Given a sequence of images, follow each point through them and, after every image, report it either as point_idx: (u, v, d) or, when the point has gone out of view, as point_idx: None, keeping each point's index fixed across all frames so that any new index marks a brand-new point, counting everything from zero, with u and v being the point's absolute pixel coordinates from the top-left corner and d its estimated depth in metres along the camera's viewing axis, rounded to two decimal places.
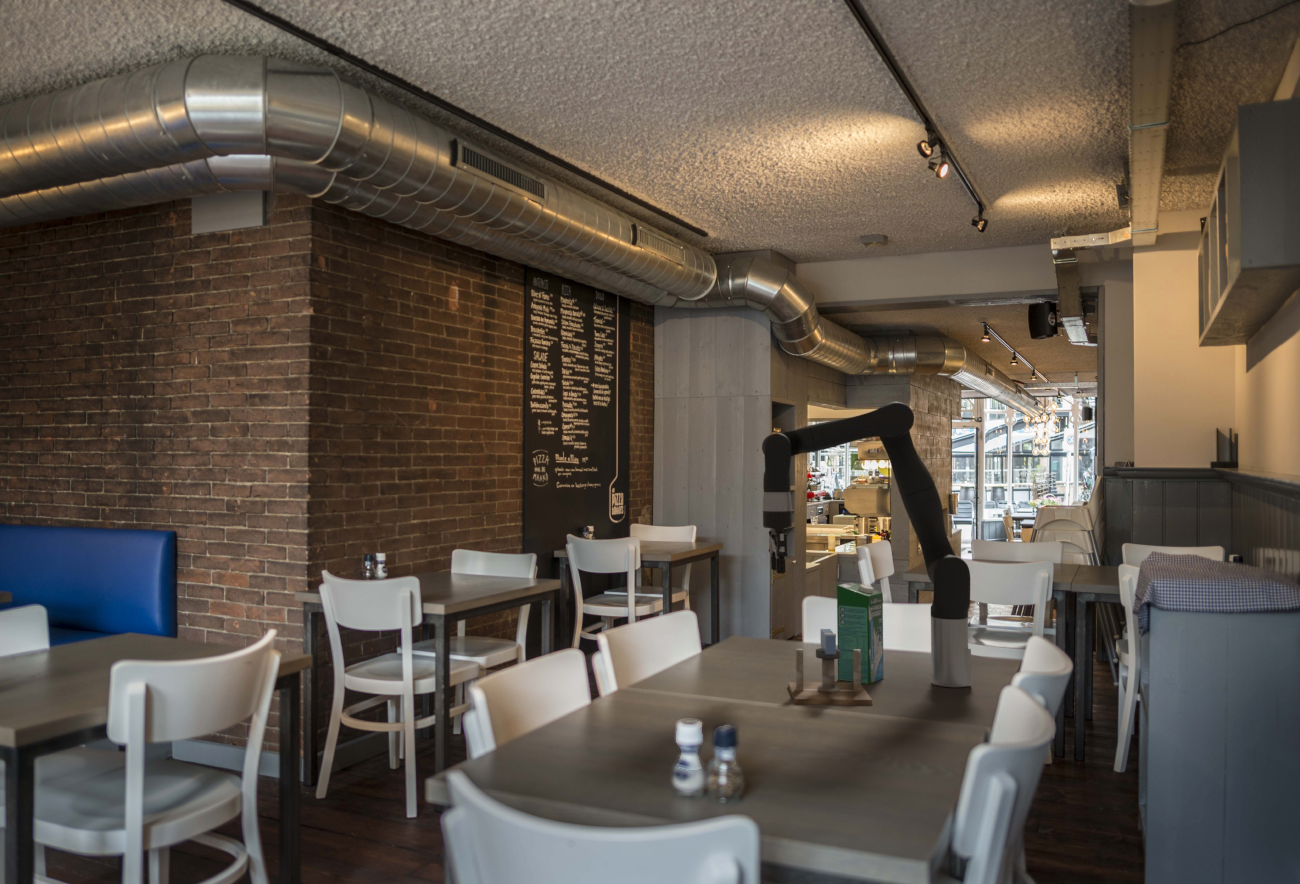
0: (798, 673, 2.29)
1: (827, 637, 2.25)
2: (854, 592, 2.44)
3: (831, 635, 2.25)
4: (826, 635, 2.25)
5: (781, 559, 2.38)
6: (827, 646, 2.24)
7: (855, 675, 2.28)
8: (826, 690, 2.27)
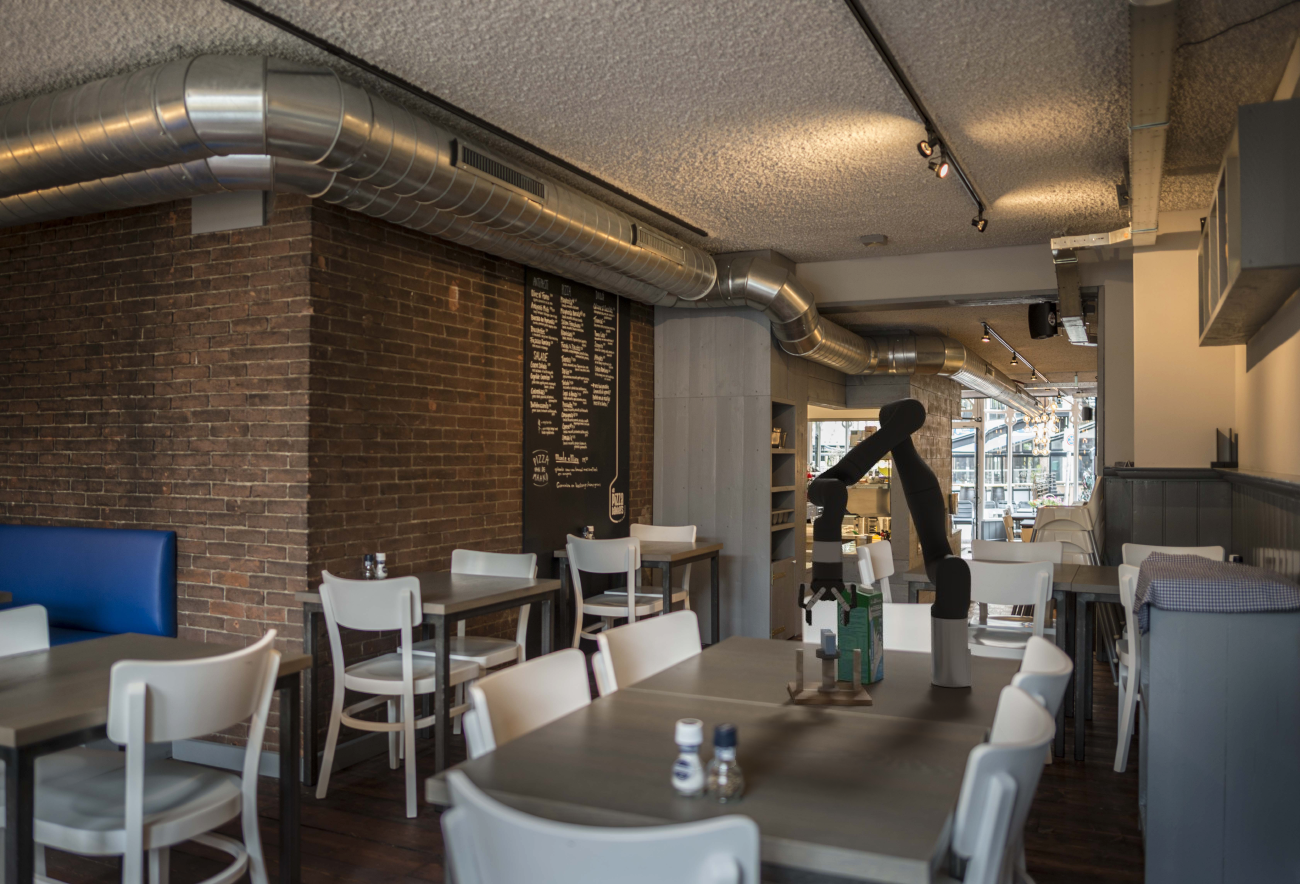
0: (798, 673, 2.29)
1: (827, 637, 2.25)
2: None
3: (831, 635, 2.25)
4: (826, 635, 2.25)
5: None
6: (827, 646, 2.24)
7: (855, 675, 2.28)
8: (826, 690, 2.27)
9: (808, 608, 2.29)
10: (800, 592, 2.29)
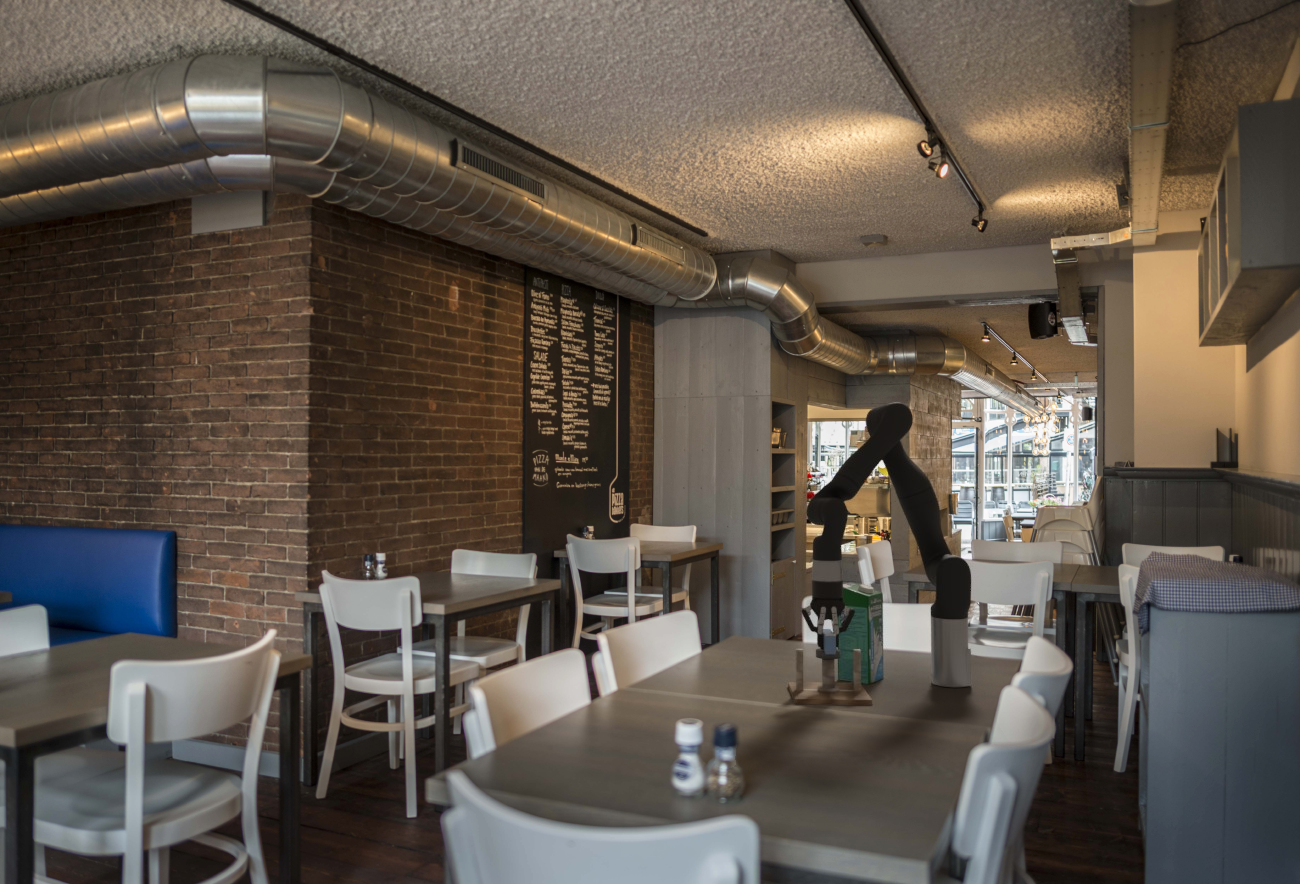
0: (798, 673, 2.29)
1: (827, 637, 2.25)
2: (854, 592, 2.44)
3: (831, 635, 2.25)
4: (826, 635, 2.25)
5: None
6: (827, 646, 2.24)
7: (855, 675, 2.28)
8: (826, 690, 2.27)
9: (820, 632, 2.28)
10: (805, 618, 2.29)
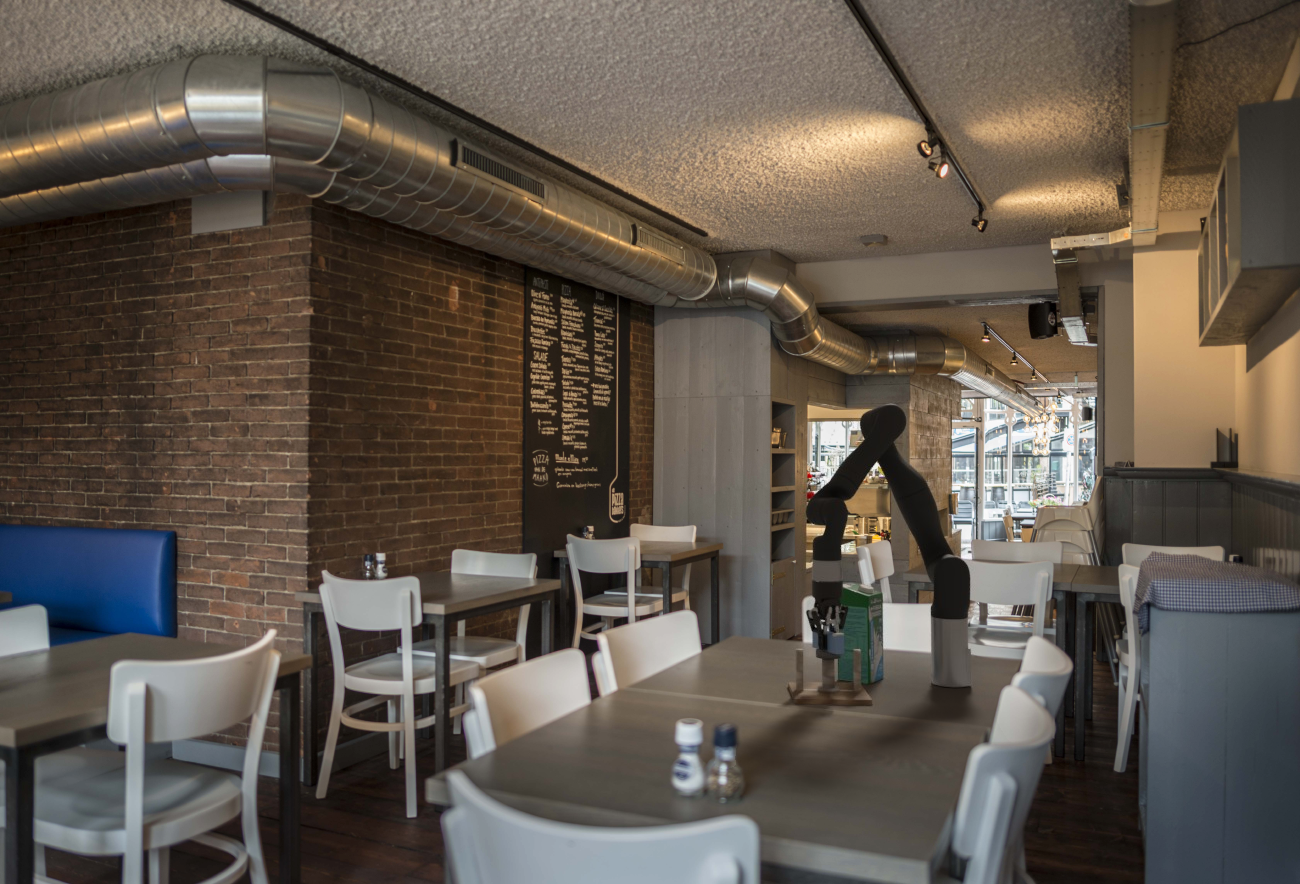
0: (798, 673, 2.29)
1: (837, 637, 2.25)
2: (854, 592, 2.44)
3: (840, 635, 2.25)
4: (836, 635, 2.25)
5: None
6: (837, 646, 2.25)
7: (855, 675, 2.28)
8: (826, 690, 2.27)
9: (825, 633, 2.27)
10: (816, 620, 2.25)
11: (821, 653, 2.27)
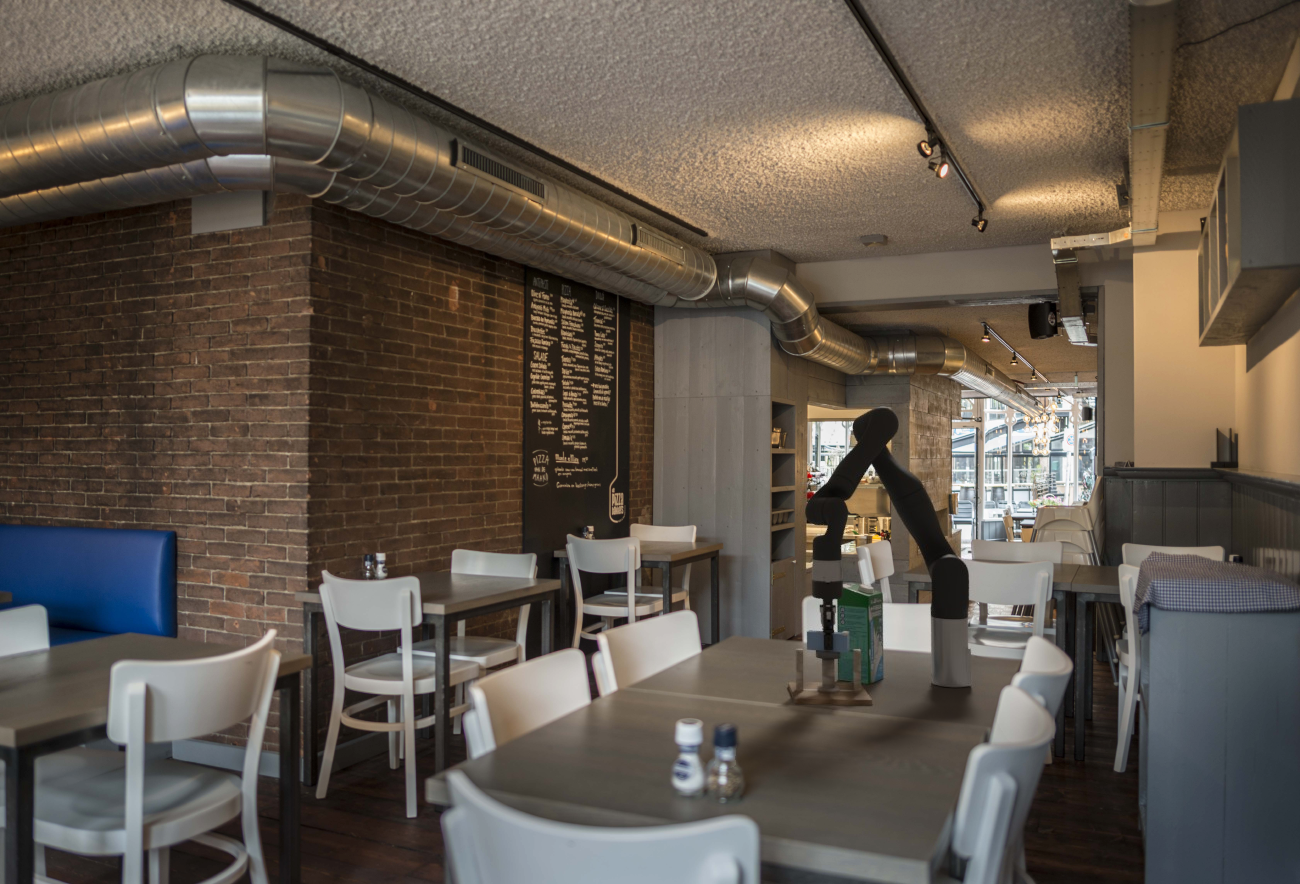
0: (798, 673, 2.29)
1: (847, 635, 2.27)
2: (854, 592, 2.44)
3: (848, 633, 2.28)
4: (846, 634, 2.27)
5: None
6: (847, 644, 2.27)
7: (855, 675, 2.28)
8: (826, 690, 2.27)
9: None
10: (833, 620, 2.24)
11: (830, 654, 2.26)
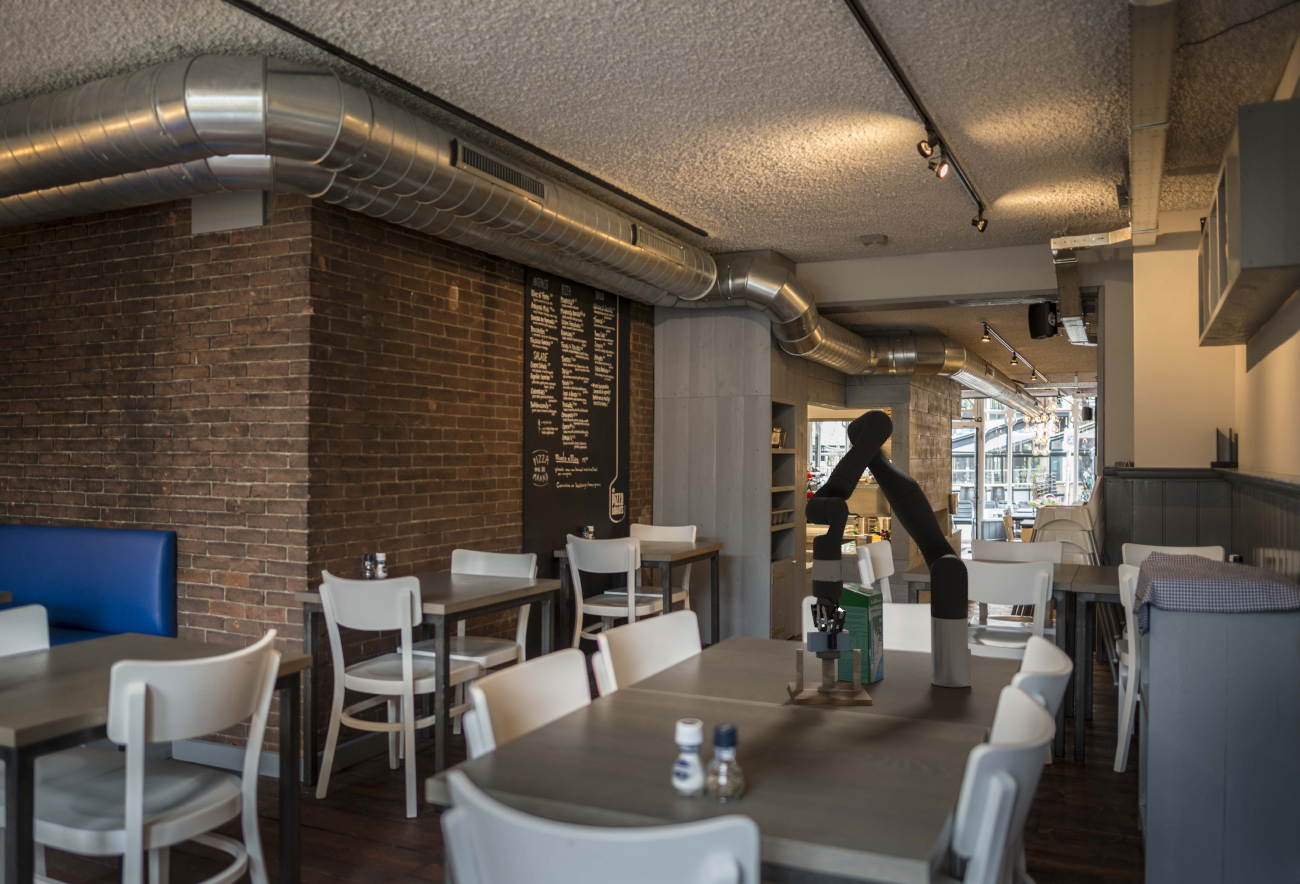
0: (798, 673, 2.29)
1: None
2: (854, 592, 2.44)
3: None
4: None
5: None
6: None
7: (855, 675, 2.28)
8: (826, 690, 2.27)
9: None
10: None
11: (837, 653, 2.27)
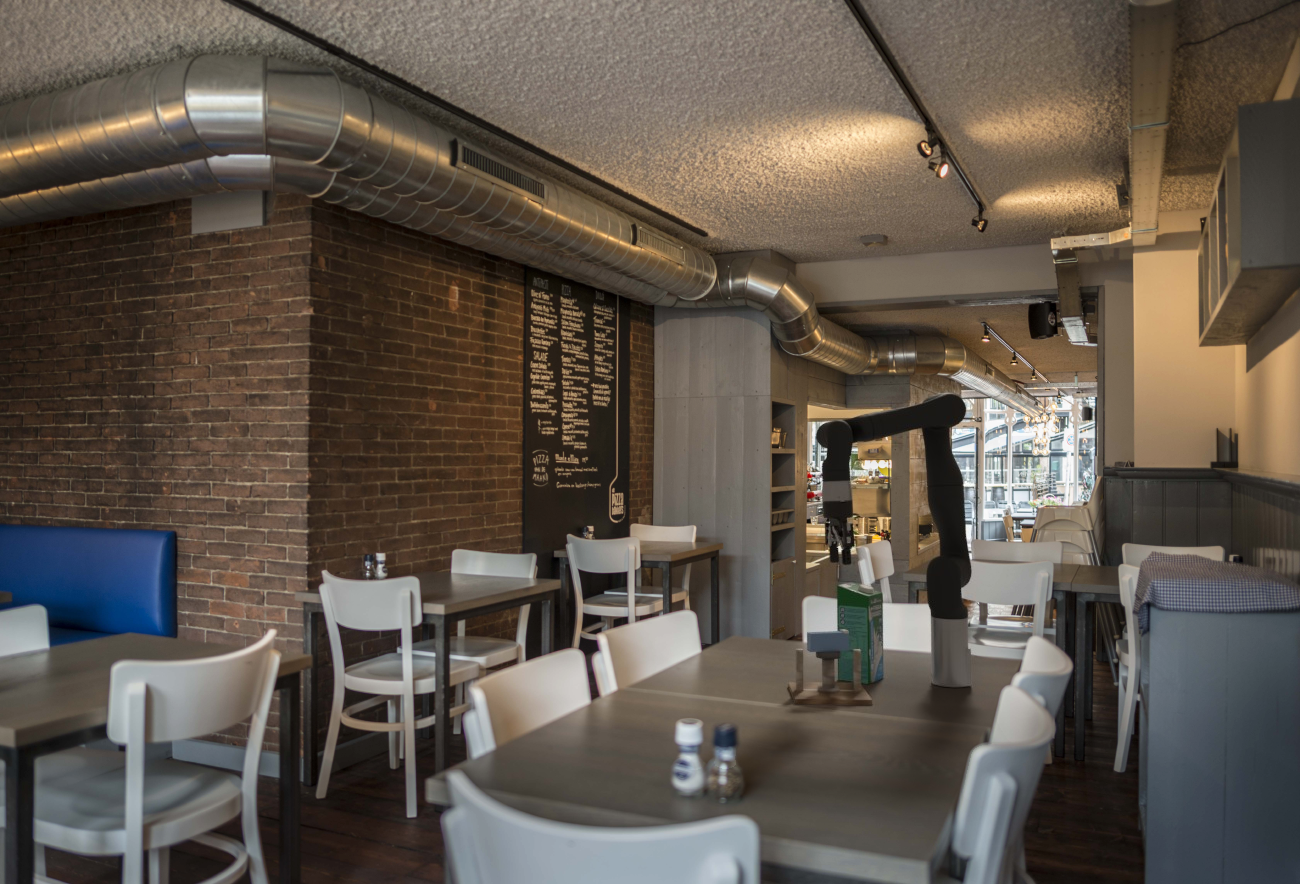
0: (798, 673, 2.29)
1: None
2: (854, 592, 2.44)
3: None
4: None
5: None
6: None
7: (855, 675, 2.28)
8: (826, 690, 2.27)
9: None
10: None
11: (837, 653, 2.27)
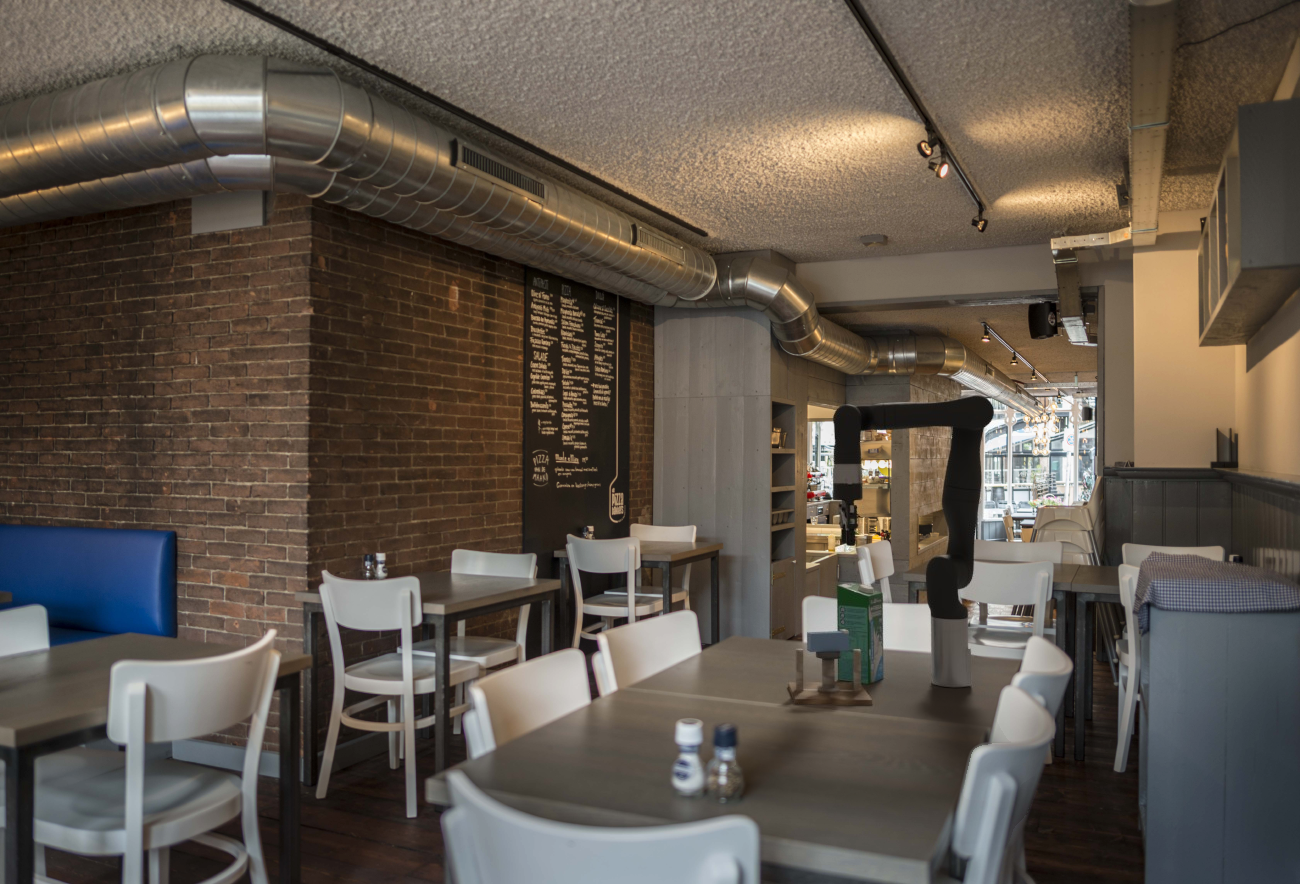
0: (798, 673, 2.29)
1: None
2: (854, 592, 2.44)
3: None
4: None
5: None
6: None
7: (855, 675, 2.28)
8: (826, 690, 2.27)
9: (856, 528, 2.37)
10: (856, 513, 2.35)
11: (837, 653, 2.27)
